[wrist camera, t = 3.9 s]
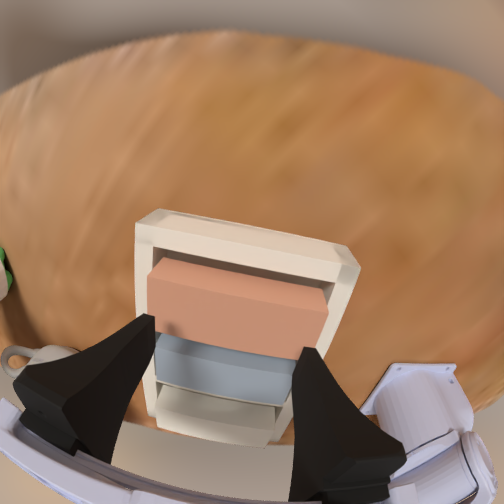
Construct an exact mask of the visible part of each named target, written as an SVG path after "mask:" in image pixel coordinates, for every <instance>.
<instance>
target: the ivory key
mask: <svg viewBox="0 0 504 504" xmlns="http://www.w3.org/2000/svg"><path fill="white" fill-rule="evenodd" d="M155 413H156V420H157V426H158V427H160V428H163V429H167V430H170V431H174V432H178V433H182V434H185V435H190V436H194V437H198V438H203V439H207V440H212V441H217V442H223V443H228V444H234V445H241V446H248V447H256V448H265V447H266V445H267V443H268V442H269V440H270V438H271V436H272V434H273V433H274V431H275V407H269V406H262V405H255V404H249V403H242V402H237V401H231V400H226V399H221V398H216V397H211V396H206V395H202V394H198V393H193V392H189V391H185V390H181V389H178V388H174V387H170V386H167V385H163V387H162V389H161V392H160V394H159V397H158V399H157V402H156V404H155Z"/></svg>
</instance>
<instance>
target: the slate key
mask: <svg viewBox="0 0 504 504" xmlns="http://www.w3.org/2000/svg"><path fill="white" fill-rule="evenodd" d="M155 362H156V377H157V380H160V381H163V382H167V383H170V384H174V385H178V386H181V387H185V388H189V389H193V390H198V391H202V392H206V393H211V394H216V395H221V396H226V397H231V398H237V399H242V400H248V401H255V402H261V403H269V404H277V405H283V403H284V401H285V399H286V397H287V395H288V393H289V390H290V388H291V386H292V374H293V371H294V369H295V367H296V363H295V360H293V359H286V358H279V357H273V356H267V355H261V354H255V353H249V352H244V351H239V350H233V349H228V348H223V347H219V346H214V345H209V344H205V343H201V342H196V341H192V340H188V339H184V338H180V337H176V336H172V335H168V334H164V333H162V334H161V336H160V337H159V339H158V341H157V343H156V348H155Z"/></svg>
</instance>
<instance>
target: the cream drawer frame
mask: <svg viewBox="0 0 504 504" xmlns="http://www.w3.org/2000/svg"><path fill="white" fill-rule="evenodd" d="M163 257H165V258H169V259H174V260H179V261H183V262H188V263H193V264H197V265H202V266H207V267H212V268H216V269H221V270H226V271H231V272H236V273H241V274H246V275H251V276H256V277H261V278H266V279H271V280H276V281H282V282H287V283H292V284H297V285H303V286H308V287H314V288H319V289H322V290H323V294H324V297H325V300H326V304H327V307H328V310H329V315H328V317H327V320H326V322H325V325H324V327H323V330H322V332H321V334H320V337H319V339H318V341H317V344H316V346H315V348H316V349H317V351H318V352H319V354H320V356H321V357H322V359H323V358H324V356H325V354H326V352H327V350H328V347H329V345H330V343H331V341H332V339H333V337H334V334H335V332H336V330H337V327H338V325H339V323H340V320H341V318H342V316H343V313H344V311H345V309H346V306H347V304H348V301H349V299H350V296H351V294H352V291H353V288H354V286H355V283H356V281H357V278H358V275H359V272H360V270H361V267H360V265H359V264H358V262H357V261H356V259H355V258H354V256H353V255H352V253H351V252H350V250H349V249H348V247H347V246H345V245H340V244H336V243H331V242H327V241H322V240H318V239H313V238H309V237H304V236H299V235H294V234H290V233H285V232H280V231H275V230H270V229H265V228H260V227H255V226H250V225H245V224H240V223H235V222H230V221H225V220H220V219H214V218H209V217H204V216H198V215H193V214H187V213H182V212H176V211H171V210H165V209H159V208H158V209H156V210H155V211H153V212H152V213H150V214H148V215H147V216H145V217H144V218H142V219H141V220H139V221H138V222H136V223H135V300H136V318H137V317H139V316H140V315H142V314H143V313H145V314H147V275H148V274H149V273H150V272H151V271H152V269H153V268H154V267H155V266H156V265H157V264H158V263H159V261H160V260H161V259H162V258H163ZM161 334H162V333H161V332H157V331H155V338H156V343H157V341H158V339H159V337H160V336H161ZM297 362H298V360H295V363H296V364H297ZM142 379H143V386H144V393H145V399H146V405H147V411H148V416H151V417H154V418H156V413H155V404H156V402H157V399H158V397H159V394H160V392H161V389H162V387H163V385H167V386H170V387H174V388H178V389H181V390H185V391H189V392H193V393H198V394H202V395H206V396H211V397H216V398H221V399H226V400H231V401H237V402H242V403H249V404H255V405H262V406H269V407H275V431H274V433H273V434H272V436H271V438H270V440H269V441H273V442H278V441H279V439H280V438H281V436H282V434H283V433H284V431H285V429H286V428H287V426H288V424H289V423H290V421H291V419H292V417H293V407H292V395H291V388H290V390H289V393H288V395H287V397H286V399H285V401H284V403H283V405H277V404H269V403H261V402H255V401H248V400H242V399H237V398H231V397H226V396H221V395H216V394H211V393H206V392H202V391H198V390H193V389H189V388H185V387H181V386H178V385H174V384H170V383H167V382H163V381H160V380H157V377H156V362H155V350H154V353H153V356H152V358H151V361H150V364H149V365H148V367H147V369H146V371H145V373H144V375H143V377H142ZM291 387H292V386H291Z"/></svg>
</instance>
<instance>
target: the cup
mask: <svg viewBox="0 0 504 504" xmlns="http://www.w3.org/2000/svg"><path fill="white" fill-rule="evenodd" d="M4 258H5V254H4V250H3V249H2V248H1V247H0V301H1V300H2V299H3V298H4V297H5V296H7V292H8V290H9V288H10V285H11V283H12V281H13V279H12V275H11V274H10V272H9V271H7V270H5V267H4V263H3V261H4Z"/></svg>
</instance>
